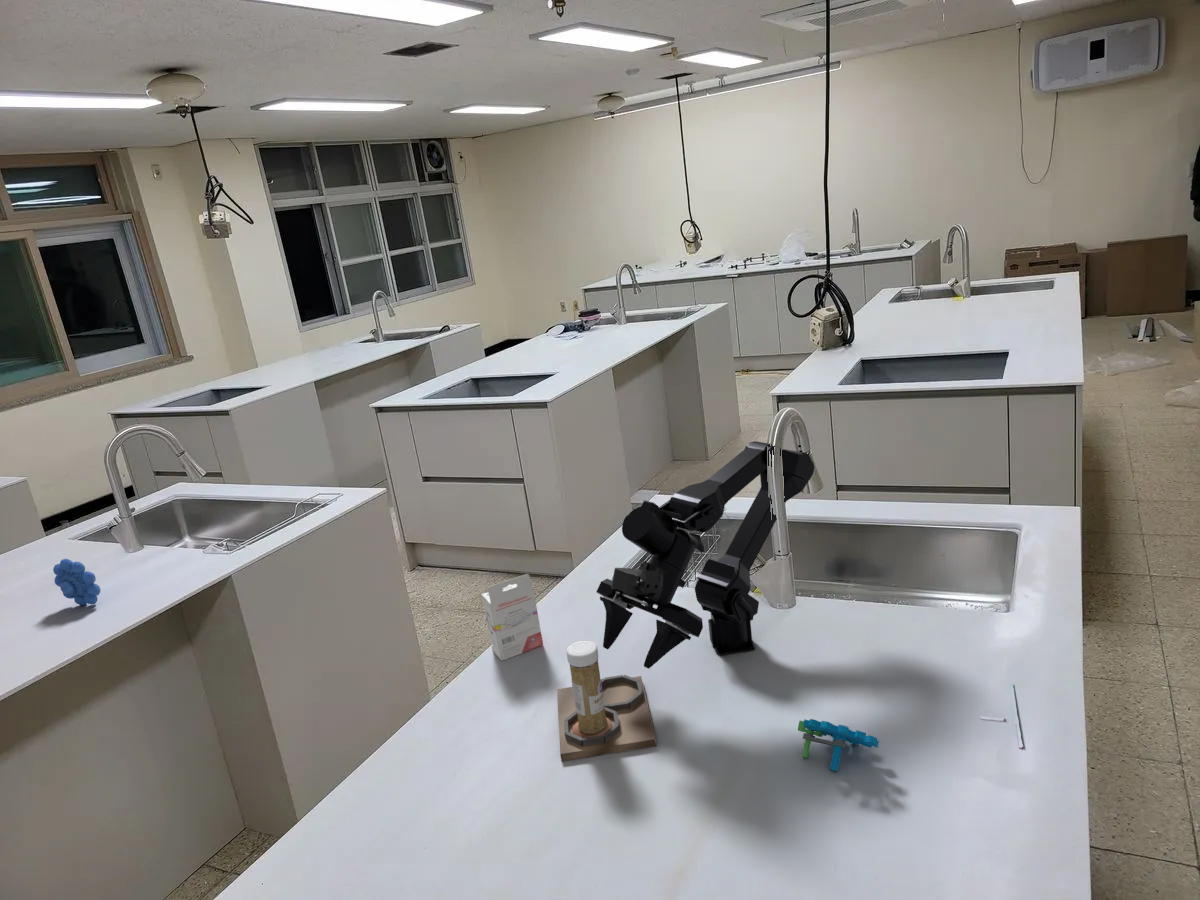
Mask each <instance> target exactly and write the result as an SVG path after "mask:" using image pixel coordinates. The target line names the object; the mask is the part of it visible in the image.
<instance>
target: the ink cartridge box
mask: <svg viewBox="0 0 1200 900" xmlns="http://www.w3.org/2000/svg"><path fill="white" fill-rule="evenodd" d="M481 600H482V606H483V611H484V615H485V620H486V625H487V631H488V635H489V641H490V644H491V649H492V652H493V653H494V654H495V655H496V657H498V658H499V659H500V661H505V660H507V659H511V658H514V657H515V656H518V655H521V654H524V653H526V652H529V651H531V650H534V649H537V648H540V647H541V646H544V640H543V635H542V631H541V624H540V619H539V613H538V607H537V602H536V596H535V592H534V589H533V586H532V581H531V577H530V574H529V573H525V574H522V575H519V576H515V577H514V578H509V579H507V580H503V581H500V582H499V583H495V584H493V585H489V586H488V587H487V592H484V593H481ZM492 645H493V646H492Z"/></svg>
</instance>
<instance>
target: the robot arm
mask: <svg viewBox="0 0 1200 900" xmlns="http://www.w3.org/2000/svg"><path fill="white" fill-rule="evenodd" d="M768 443H769V442H762V441H756V440H754V441H750V442H748V443H747V444H746V445H745V447H744V449H743V450H742V451H740V453H738V454H737V455H735V456H734V457H733V458H732V459H731V460H729V461H728V462H727V463H726V464H725V465H723V466H722V467H721V468H720V469H718V471H716V472H715V473H713V474H712V475H711V476H710V477H708V478H707V479H706V480H704V481H702V482H701V481H700V482H698V483H694V484H690V485H689V484H688V486H685V487H683V488H681V489H680V490H677V491H676V492H675V493H674V494H673V495H672V496H671V497H670V498H669V499H668V500H667V501H666V502H664V503H663V504H661V505H660V506H659V505H657V504H656V503H655V502H653V501H649V500H645V499H644V500H643V502H642V505H641V506H638V507H635V508H634V509H632V511H630V512H629V513H628V515H625V517H624V520H623V522H622V525H621V531H622V535H623V537H624V538H625V539H626V540H628V541H629V542H631V543H632V544H634V545H635V546H636V547H638V548H640V549H641V550H642V551H644V552H646V553H647V554H649V555H651V557H650V559H649V560H648V561H649V562H647V561H645V560H644V561H643V562H642V563H640V565H639V567H638V568H637V569H636V568H629V567H614V570H613V575H612V579H609V578H605V579H603V580H602V581H600V582H599V585H598V587H597V590H596V593H597V594H599V595H600V596H599V601H602V603H603V606H604V610H605V622H604V623H605V624H604V633H603V640H602V641H603V643H602V647H603V648H604V649H606V650H609V649H610V648H611V646H613V645H614V644H615V642H616V640H617V638H618V637H619V636H620V634H621V633H622V631H623V629H624V628H625V627H626V625H627V623H628V622H629V620H630V619H631V617H632V615H634V613H633V612H631V611H629V610H631V609H633V608H637V609H639V610H642V611H645V612H647V613H649V614H652V615H654V616H657V617H658V618H662V620H664V621H665V622H664V621H662V620H659V619H656V620H655V621H656V622H655V623H656V633H655V636H654V638H653V639H652V642H651V645H650V647H649V649H648V651H647V654H646V656H645V660H644V662H643V668H645V669H648V670H649V669H651V668H652V667H653V666H654V665H655V664H657V663H658V662H659V660H661V659H662V658H663V657H664V656H666V655H667V654H668V653H669V652H670V651H671V650H673V649H674V648H675V647H678V645H680V644H681V643H683V642H684V641H685V640H688V641H691V639H692V636H694V637H697V638H700V634H701V633H702V631H703V628H704V624H703V618H702V617H700V616H699V615H697V614H695V613H694V612H692V611H690V610H689V609H688V608H685V607H682V606H680V605H678V604H675V603H672V601H673V598H674V596H675V594H676V591H677V589H678V587H681V588H682V589H684V587H685V584H686V583H687V582H686V581H685V580H683V576H684V574H685V573H686V569H687V568H688V566H689V563H690V562H691V559H692V557H693V554H694V553H695V551H696V552H698V553H704V552H705V546H704V544H703V542H702V536H701V535H699V534H696V533H693V531H695V532H700V533H708V532H709V531H710V530H711V529H712V528H713V527H714V526H715V525H716V524H717V522H719V520H720V519H721V518H722V517H723V515H724V511H725V507H726V505H727V503H728V502H729V501H731V499H732V498H734V497H735V496H737V495H738V494H739V493H740V492H741V491H742V490H743V489H745V488H746V487H747V486H748V485H749V484H751V482H753V481H754V480H755V479H756V478H758V477H760V488H759V491H758V492H757V494H756V497H755V498H754V499H753V502H752V503H751V505H750V506H749V509H748V511H747V512H746V514H745V516H744V518H743V519H742V522H741V524H740V526H739V528H737V532H735V535H734V536H733V538H732V540H731V542H730V543H729V546H728V547H727V549H726V551H725V553H724V554H723V556H721V557H720V558H718V559H713V558H709V559H708V560H706V562H705V563H704V566H703V567H702V570H701V572H700V573H699V575H697V576H696V579H698V580H697V582H696V584H695V587H694V593H695V598H696V601H697V602H698V604H699V605H700V606H701V608H702V611H706V612H709V613H710V618H709V619H708V620H707V622H708V632H709V633H708V634H709V640H710V643H711V646H712V647H713V648H715V650H716V653H717V655H719V656H722V655H729V654H735V653H739V652H740V653H741V652H748V651H753V650H754V651H755V649H756V645H755V643H754V641H753V635H752V625H751V623H752V622H751V621H753V620H754V616H755V615H758V613H759V605H760V603H759V602H760V601H759V600H757V599H756V598H755V597H753V596H751V595H750V594H749V593H750V591H751V575H750V571H751V568H752V566H753V565H754V563H755V561H756V559H757V557H758V555H759V554H760V552H761V549H762V547H763V546H764V544H765V543H766V540H767V538H768V537H769V535H770V533H771V531H772V529H773V527H774V525H775V523H776V522H777V519H778V518H776V515H774V514H773V508H772V520H771V512H770V501H771V504H772V499H771V495H770V498H769V497H768V482H767V446H768V466H769V451H770V454H771V459H772V450H773V455H774V447H775V446H776V445H774V446H772V444H773V443H769V444H768ZM770 444H771V446H770ZM779 448H780V447H779ZM781 449H783V450H782V458H783V476H784V496H785V498H784V502H785V504H786V503H787V502H788V501H789V500H790V499H792V498H794V497H795V496H797V495H798V494H800V493H801V492H802V491H803V490H804V489H805V488H806V487H807V484H808V483H809V482H810V480H811V478H812V477H813V475H814V471H815V463H814V462H813V461H812V457H811V456H810V454H808V453H807V452H802V451H796V450H791V449H785V448H780V456H781ZM771 467H772V461H771ZM686 530H687V531H690V533H688V532H687V531H686ZM654 606H657V607H654ZM690 635H691V636H690Z"/></svg>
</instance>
